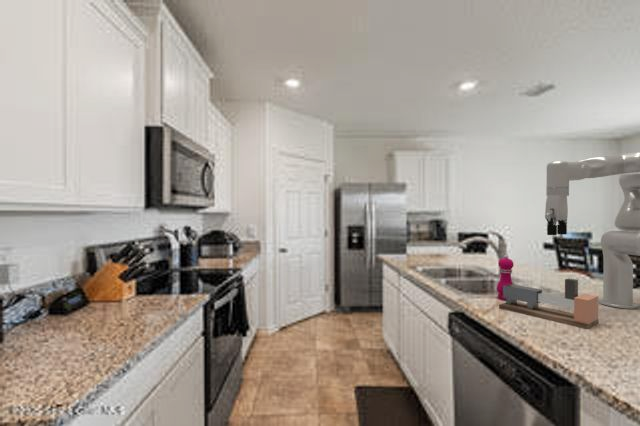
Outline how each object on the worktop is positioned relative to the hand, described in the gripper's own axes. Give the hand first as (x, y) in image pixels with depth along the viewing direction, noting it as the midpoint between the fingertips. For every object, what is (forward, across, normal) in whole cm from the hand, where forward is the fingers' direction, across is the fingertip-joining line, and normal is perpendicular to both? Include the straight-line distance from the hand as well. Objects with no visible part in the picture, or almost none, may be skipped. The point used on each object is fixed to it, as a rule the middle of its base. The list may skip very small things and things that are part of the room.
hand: (557, 234), depth 137 cm
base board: (+30, +12, +1) cm, 33 cm away
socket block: (+29, +12, +13) cm, 34 cm away
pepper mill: (+31, 0, -20) cm, 36 cm away
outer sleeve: (+29, +12, -8) cm, 32 cm away
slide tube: (+25, +12, +5) cm, 28 cm away
